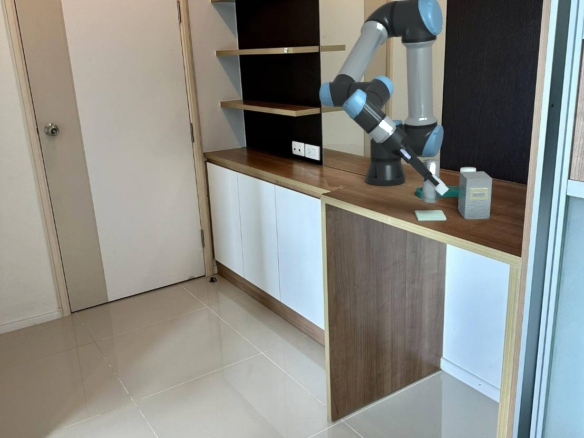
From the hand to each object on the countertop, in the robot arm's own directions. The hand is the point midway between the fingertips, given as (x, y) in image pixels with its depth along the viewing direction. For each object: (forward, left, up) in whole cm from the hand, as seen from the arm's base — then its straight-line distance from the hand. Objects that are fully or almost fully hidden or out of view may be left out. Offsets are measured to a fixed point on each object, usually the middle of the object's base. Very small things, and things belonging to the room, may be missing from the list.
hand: (443, 189), depth 158 cm
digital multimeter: (-26, +3, -9) cm, 28 cm away
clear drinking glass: (0, -4, -3) cm, 5 cm away
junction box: (-2, +9, -8) cm, 13 cm away
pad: (0, -4, -8) cm, 9 cm away
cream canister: (-12, +9, -8) cm, 18 cm away
